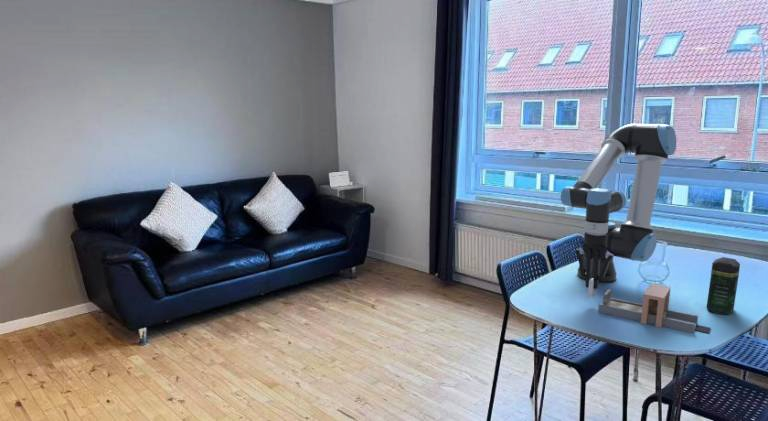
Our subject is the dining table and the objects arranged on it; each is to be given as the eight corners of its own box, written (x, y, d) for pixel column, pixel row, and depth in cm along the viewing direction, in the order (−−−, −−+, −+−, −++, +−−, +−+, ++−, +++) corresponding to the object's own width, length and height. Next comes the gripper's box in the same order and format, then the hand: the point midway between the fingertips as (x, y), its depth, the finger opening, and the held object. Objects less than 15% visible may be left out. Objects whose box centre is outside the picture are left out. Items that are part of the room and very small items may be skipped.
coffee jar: (730, 317, 175) (737, 264, 172) (704, 311, 181) (710, 260, 177) (735, 308, 182) (742, 258, 179) (710, 303, 188) (716, 254, 184)
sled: (602, 308, 181) (603, 291, 180) (607, 302, 186) (608, 286, 185) (663, 321, 170) (664, 303, 169) (666, 315, 175) (668, 297, 174)
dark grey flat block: (694, 330, 166) (694, 329, 165) (696, 325, 169) (696, 324, 169) (709, 333, 163) (709, 332, 163) (710, 328, 167) (710, 327, 167)
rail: (598, 311, 181) (598, 304, 180) (605, 303, 188) (605, 296, 187) (693, 332, 164) (694, 324, 163) (697, 323, 171) (698, 315, 170)
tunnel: (640, 323, 171) (643, 294, 169) (648, 311, 181) (651, 283, 179) (660, 327, 168) (664, 297, 166) (667, 315, 178) (670, 287, 175)
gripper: (573, 232, 182) (569, 295, 187) (612, 237, 175) (607, 303, 179) (580, 228, 188) (576, 289, 193) (618, 233, 180) (612, 297, 185)
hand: (591, 296), depth 186 cm, fingers closed
